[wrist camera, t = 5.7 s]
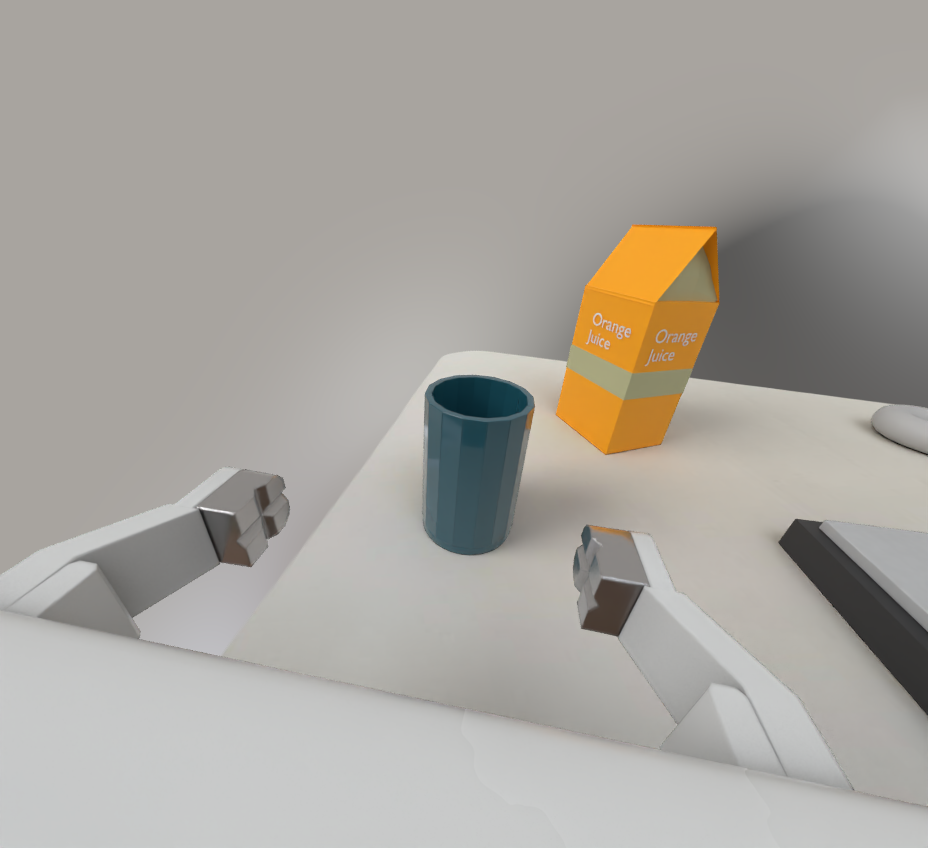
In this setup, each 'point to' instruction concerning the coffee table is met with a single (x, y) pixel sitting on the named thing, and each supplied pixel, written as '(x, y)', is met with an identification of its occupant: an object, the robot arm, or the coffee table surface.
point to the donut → (903, 425)
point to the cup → (473, 460)
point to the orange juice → (640, 335)
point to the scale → (873, 589)
